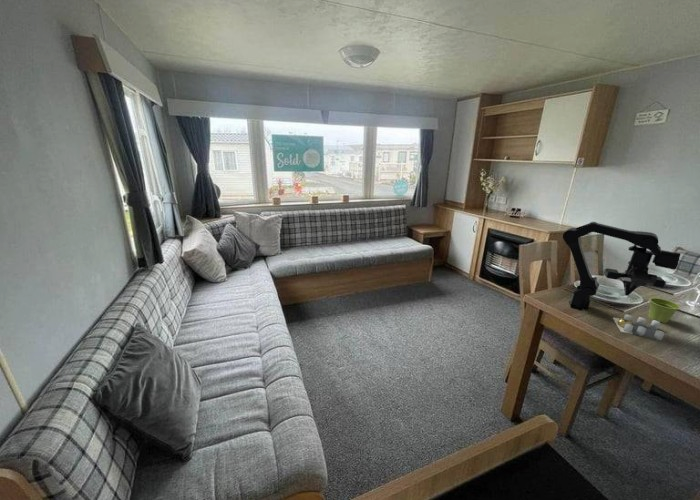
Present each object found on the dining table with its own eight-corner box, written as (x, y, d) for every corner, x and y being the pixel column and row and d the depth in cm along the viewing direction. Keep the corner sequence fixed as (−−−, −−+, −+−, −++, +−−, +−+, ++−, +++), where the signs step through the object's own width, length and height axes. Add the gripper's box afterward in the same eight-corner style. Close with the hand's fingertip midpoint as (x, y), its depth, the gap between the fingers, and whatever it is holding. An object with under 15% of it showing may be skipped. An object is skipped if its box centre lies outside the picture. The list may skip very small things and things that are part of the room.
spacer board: (620, 332, 121) (623, 325, 120) (611, 318, 131) (614, 311, 130) (667, 343, 115) (671, 336, 113) (655, 328, 125) (658, 320, 123)
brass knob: (618, 326, 124) (620, 321, 123) (616, 321, 127) (618, 316, 126) (630, 329, 122) (633, 324, 121) (627, 324, 125) (630, 319, 125)
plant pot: (663, 327, 125) (671, 310, 122) (637, 315, 134) (644, 299, 131) (677, 324, 128) (685, 307, 125) (651, 313, 136) (659, 296, 133)
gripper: (616, 264, 119) (604, 297, 124) (679, 274, 111) (663, 309, 116) (609, 255, 128) (597, 287, 133) (666, 264, 120) (652, 297, 125)
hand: (626, 295), depth 127 cm, fingers closed
